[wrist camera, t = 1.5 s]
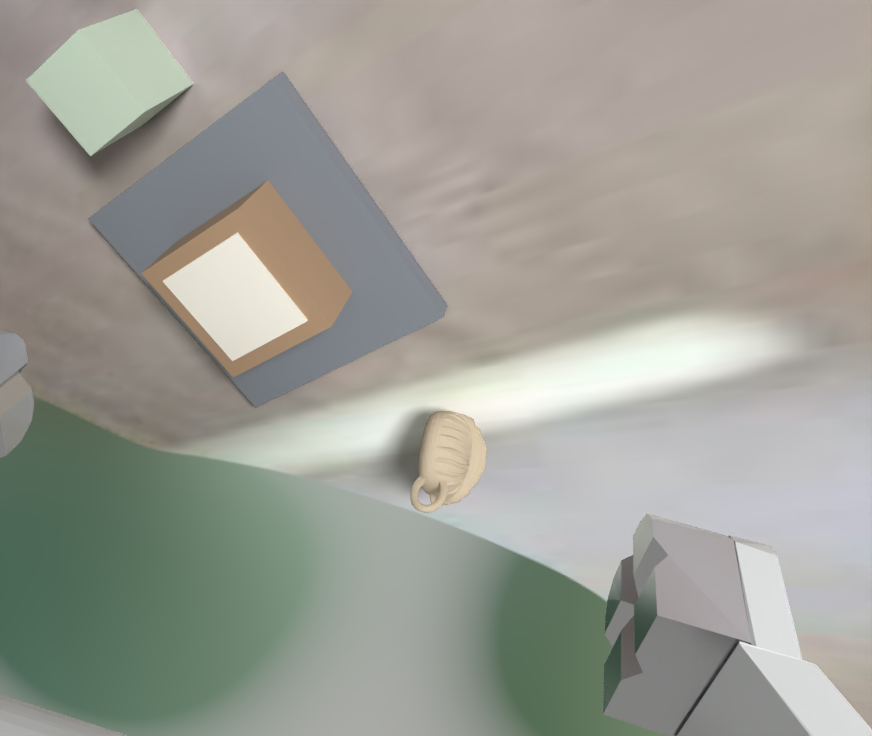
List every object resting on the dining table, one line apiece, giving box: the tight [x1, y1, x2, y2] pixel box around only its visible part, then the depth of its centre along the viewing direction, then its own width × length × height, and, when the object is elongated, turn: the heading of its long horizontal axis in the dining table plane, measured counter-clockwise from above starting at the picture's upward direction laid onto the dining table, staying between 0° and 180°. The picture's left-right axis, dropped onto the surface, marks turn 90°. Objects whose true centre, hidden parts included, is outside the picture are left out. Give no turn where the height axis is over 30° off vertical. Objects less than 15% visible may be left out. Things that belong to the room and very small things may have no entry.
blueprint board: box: [88, 72, 448, 408], centre depth 50 cm, size 18×18×6 cm
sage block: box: [26, 9, 194, 156], centre depth 45 cm, size 5×5×6 cm
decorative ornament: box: [411, 411, 487, 513], centre depth 53 cm, size 4×8×5 cm
